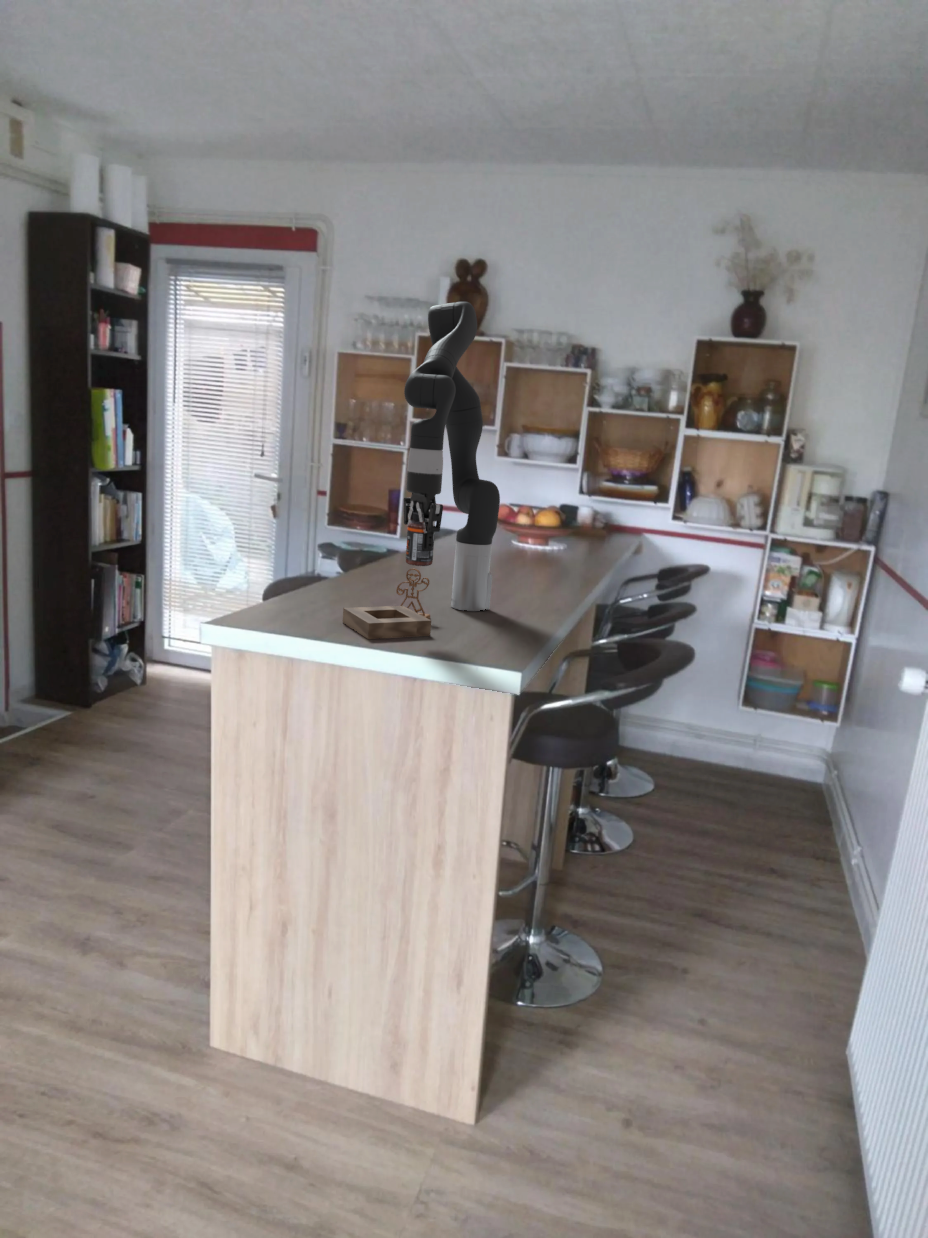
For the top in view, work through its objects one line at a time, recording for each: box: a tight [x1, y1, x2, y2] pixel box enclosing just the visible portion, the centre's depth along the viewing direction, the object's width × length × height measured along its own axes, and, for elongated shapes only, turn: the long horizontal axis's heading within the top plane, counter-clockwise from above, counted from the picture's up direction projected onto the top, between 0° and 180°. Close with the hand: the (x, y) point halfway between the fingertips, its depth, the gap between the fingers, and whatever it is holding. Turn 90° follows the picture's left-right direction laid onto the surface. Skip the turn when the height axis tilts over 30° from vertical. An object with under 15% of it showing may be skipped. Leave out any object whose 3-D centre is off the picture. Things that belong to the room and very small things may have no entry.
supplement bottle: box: [405, 512, 435, 567], centre depth 188 cm, size 6×6×11 cm
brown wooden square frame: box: [342, 605, 432, 640], centre depth 194 cm, size 15×15×4 cm
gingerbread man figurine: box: [396, 567, 431, 620], centre depth 207 cm, size 9×4×12 cm, turn 73°
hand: (419, 547), depth 188 cm, fingers closed on supplement bottle, 6 cm apart
